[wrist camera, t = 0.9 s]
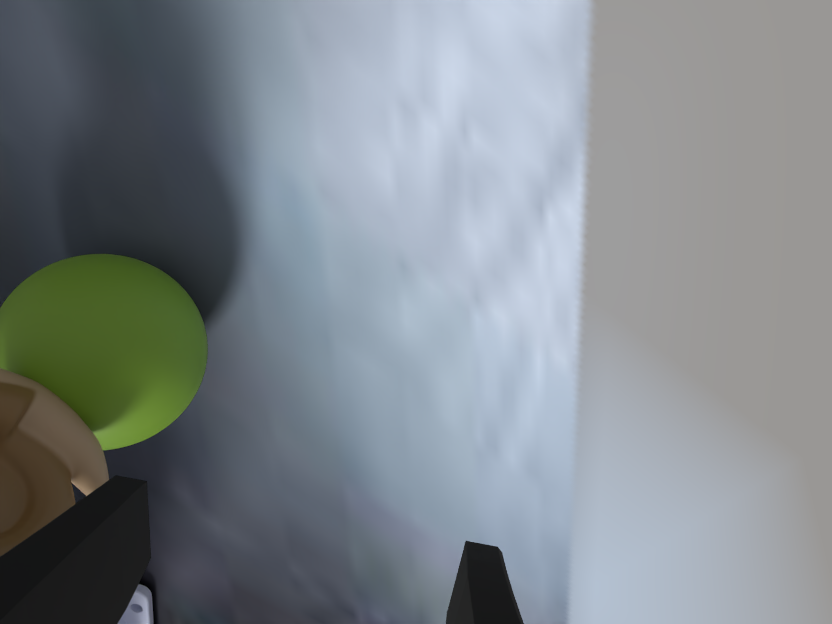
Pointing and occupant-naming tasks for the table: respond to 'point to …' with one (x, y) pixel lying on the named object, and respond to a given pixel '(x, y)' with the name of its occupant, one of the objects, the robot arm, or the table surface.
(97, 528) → the robot arm
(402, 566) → the table surface
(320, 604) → the table surface
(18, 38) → the table surface
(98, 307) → the snail figurine
